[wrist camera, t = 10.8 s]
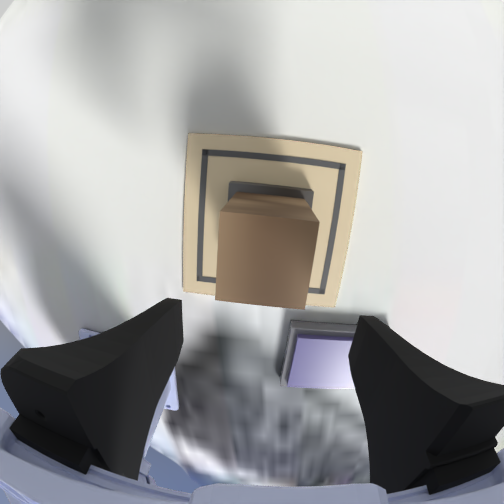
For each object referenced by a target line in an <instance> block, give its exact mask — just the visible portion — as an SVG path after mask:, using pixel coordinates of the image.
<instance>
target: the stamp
mask: <svg viewBox="0 0 504 504" xmlns="http://www.w3.org/2000/svg"><path fill="white" fill-rule="evenodd" d="M313 196H314V191H313V190H312V189H307V188H299V187H290V186H281V185H272V184H263V183H252V182H242V181H230V182H229V188H228V202H227V203H226V205H225V206H224V207H223V208H222V209H221V210H220V215H219V232H218V250H217V270H216V292H215V300H219V301H227V302H235V303H244V304H253V305H262V306H272V307H282V308H293V309H304V310H305V305H306V300H307V294H308V289H309V284H310V278H311V273H312V267H313V261H314V255H315V249H316V243H317V237H318V230H319V224H320V222H319V220H318V219H317V217H316V215H315V214H314V212H313V211H312V204H313Z"/></svg>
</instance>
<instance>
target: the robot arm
mask: <svg viewBox="0 0 504 504" xmlns="http://www.w3.org/2000/svg"><path fill="white" fill-rule="evenodd" d="M79 337H80V340H78V341H75V342H71V343H66V344H61V345H55V346H49V347H39V348H23V349H20V350H19V351H18V352H17V353H16V354H15V355H14V356H13V357H12V358H11V359H10V360H9V361H8V362H7V363H6V365H5V366H4V367H3V368H2V369H1V379H2V383H3V385H4V387H5V389H6V391H7V393H8V395H9V397H10V399H11V400H12V402H13V404H14V406H15V407H16V409H17V411H18V412H19V416H18V417H17V418H16V420H15V419H14V418H13V417H12V416H11V415H10V414H9V413H8V412H6V411H5V410H3V409H1V408H0V487H1V488H2V489H3V490H4V492H5V494H6V496H7V498H8V500H9V502H10V504H504V448H503V449H502V450H500V451H499V452H498V453H496V451H495V449H494V447H496V446H497V443H498V442H497V440H496V438H495V436H496V435H497V434H498V432H499V431H500V430H501V429H502V428H503V426H504V385H501V384H496V383H491V382H487V381H483V380H480V379H477V378H474V377H471V376H468V375H466V374H463V373H460V372H458V371H456V370H454V369H451V368H449V367H447V366H445V365H443V364H441V363H440V362H438V361H436V360H434V359H433V358H431V357H429V356H428V355H426V354H424V353H423V352H421V351H420V350H419V349H417V348H416V347H414V346H413V345H411V344H410V343H409V342H407V341H406V340H405V339H403V338H402V337H401V336H399V335H398V334H397V333H396V332H394V331H393V330H392V329H390V328H389V327H388V326H387V325H385V324H384V323H383V322H381V321H380V320H379V319H377V318H375V317H374V316H360V317H359V320H358V324H357V327H356V331H355V334H354V337H353V341H352V344H351V347H350V351H349V354H348V358H349V365H350V371H351V376H352V380H353V383H354V387H355V390H356V393H357V396H358V400H359V403H360V406H361V410H362V413H363V417H364V421H365V426H366V433H367V440H368V450H369V461H370V483H367V484H344V485H331V486H310V487H280V486H258V485H245V484H213V485H208V486H203V487H199V488H197V489H195V490H194V492H193V493H192V494H190V493H185V492H180V491H175V490H171V489H166V488H162V487H158V486H156V483H155V480H154V479H153V478H152V477H151V476H149V475H148V472H149V469H150V466H151V464H150V463H149V462H147V461H146V460H145V459H144V458H145V456H146V453H147V450H148V448H149V445H150V443H151V440H152V437H153V435H154V432H155V429H156V427H157V424H158V422H159V419H160V417H161V414H162V411H163V409H164V408H165V409H170V410H178V408H179V401H178V393H177V383H176V373H175V365H176V363H177V361H178V358H179V355H180V351H181V348H182V344H183V322H182V300H178V299H171V298H166V299H164V300H162V301H161V302H159V303H157V304H156V305H154V306H152V307H151V308H149V309H147V310H146V311H144V312H142V313H141V314H139V315H137V316H135V317H134V318H132V319H130V320H128V321H126V322H124V323H122V324H120V325H118V326H116V327H114V328H112V329H110V330H107V331H105V332H102V333H98V332H94V331H90V330H86V329H80V330H79Z"/></svg>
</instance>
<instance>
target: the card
mask: <svg viewBox="0 0 504 504" xmlns="http://www.w3.org/2000/svg"><path fill="white" fill-rule="evenodd" d="M361 159H362V151H358V150H353V149H347V148H341V147H335V146H329V145H322V144H315V143H308V142H301V141H293V140H284V139H275V138H264V137H253V136H240V135H223V134H199V133H188V145H187V160H186V177H185V199H184V233H183V292H191V293H198V294H206V295H214V296H215V292H216V270H217V250H218V232H219V215H220V210H221V209H222V208H223V207H224V206H225V205H226V203H227V202H228V188H229V182H230V181H242V182H252V183H263V184H272V185H281V186H290V187H299V188H307V189H312V190H313V191H314V196H313V204H312V211H313V212H314V214H315V215H316V217H317V219H318V220H319V222H320V224H319V230H318V237H317V243H316V249H315V255H314V261H313V267H312V273H311V278H310V284H309V289H308V294H307V300H306V305H310V306H322V307H335V305H336V301H337V296H338V292H339V288H340V283H341V279H342V274H343V269H344V264H345V259H346V254H347V249H348V244H349V239H350V233H351V228H352V222H353V216H354V210H355V203H356V197H357V190H358V183H359V175H360V168H361Z"/></svg>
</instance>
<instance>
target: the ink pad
mask: <svg viewBox="0 0 504 504" xmlns="http://www.w3.org/2000/svg"><path fill="white" fill-rule="evenodd" d="M356 327H357V325H351V324H334V323H319V322H306V321H293V320H291V324H290V329H289V334H288V340H287V345H286V350H285V355H284V360H283V365H282V370H281V375H280V386H284V387H301V388H329V389H355V387H354V383H353V380H352V376H351V371H350V365H349V358H348V354H349V351H350V347H351V344H352V341H353V337H354V334H355V331H356ZM388 327H389V326H388ZM389 328H390V327H389Z"/></svg>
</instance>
